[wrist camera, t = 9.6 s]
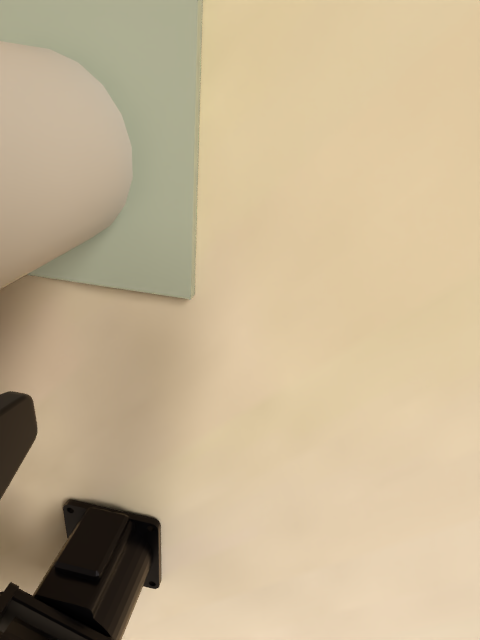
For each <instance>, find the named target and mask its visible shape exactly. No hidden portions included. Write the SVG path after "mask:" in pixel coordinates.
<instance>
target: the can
mask: <svg viewBox="0 0 480 640" xmlns="http://www.w3.org/2000/svg"><path fill="white" fill-rule="evenodd" d="M132 179H133V171H132V146H131V143H130V140H129V136H128V133H127V130H126V127H125V124H124V120H123V117H122V114H121V113H120V111H119V110H118V108H117V106H116V105H115V103H114V102H113V100H112V98H111V97H110V95H109V94H108V92H107V90H106V89H105V87H104V86H103V85H102V84H101V83H100V82H99V81H98V80H97V79H96V78H95V77H94V76H93V75H91V74H90V73H89V72H88V71H87V70H86V69H85V68H84V67H83V66H82V65H80V64H79V63H78V62H76V61H74V60H72V59H70V58H68V57H66V56H63V55H61V54H59V53H57V52H55V51H53V50H50V49H47V48H40V47H34V46H28V45H22V44H15V43H9V42H3V41H0V289H2V288H4V287H6V286H7V285H9V284H11V283H13V282H14V281H16V280H18V279H20V278H21V277H23V276H25V275H27V274H29V273H30V272H32V271H34V270H36V269H37V268H39V267H41V266H43V265H44V264H46V263H48V262H50V261H52V260H53V259H55V258H57V257H59V256H60V255H62V254H64V253H66V252H68V251H69V250H71V249H73V248H75V247H76V246H78V245H80V244H82V243H83V242H85V241H87V240H89V239H91V238H92V237H94V236H95V235H97V234H98V233H100V232H101V231H103V230H104V229H106V228H107V227H109V226H110V225H111V224H112V223H113V221H114V220H115V219H116V217H117V216H118V214H119V213H120V212H121V210H122V209H123V207H124V206H125V204H126V200H127V197H128V193H129V189H130V186H131V182H132Z"/></svg>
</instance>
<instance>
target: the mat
mask: <svg viewBox="0 0 480 640" xmlns="http://www.w3.org/2000/svg"><path fill="white" fill-rule="evenodd" d="M202 3H203V0H0V41H3V42H9V43H15V44H22V45H28V46H34V47H40V48H47V49H50V50H53V51H55V52H57V53H59V54H61V55H63V56H66V57H68V58H70V59H72V60H74V61H76V62H78V63H79V64H80V65H82V66H83V67H84V68H85V69H86V70H87V71H88V72H89V73H90V74H91V75H93V76H94V77H95V78H96V79H97V80H98V81H99V82H100V83H101V84H102V85H103V86H104V87H105V89H106V90H107V92H108V94H109V95H110V97H111V98H112V100H113V102H114V103H115V105H116V106H117V108H118V110H119V111H120V113H121V114H122V117H123V120H124V124H125V127H126V130H127V133H128V136H129V140H130V143H131V146H132V171H133V179H132V182H131V186H130V189H129V193H128V197H127V200H126V204H125V206H124V207H123V209H122V210H121V212H120V213H119V214H118V216H117V217H116V219H115V220H114V221H113V223H112V224H111V225H110V226H109V227H107V228H106V229H104V230H103V231H101V232H100V233H98V234H97V235H95V236H94V237H92V238H91V239H89V240H87V241H85V242H83V243H82V244H80V245H78V246H76V247H75V248H73V249H71V250H69V251H68V252H66V253H64V254H62V255H60V256H59V257H57V258H55V259H53V260H52V261H50V262H48V263H46V264H44V265H43V266H41V267H39V268H37V269H36V270H34V271H32V272H30V273H29V274H27V275H31V276H38V277H45V278H51V279H58V280H65V281H71V282H78V283H85V284H91V285H98V286H105V287H111V288H118V289H125V290H131V291H138V292H145V293H151V294H158V295H165V296H171V297H178V298H184V299H191V298H192V297H193V296H194V294H195V258H196V221H197V185H198V149H199V112H200V76H201V40H202Z"/></svg>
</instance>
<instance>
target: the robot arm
mask: <svg viewBox="0 0 480 640" xmlns="http://www.w3.org/2000/svg"><path fill="white" fill-rule="evenodd" d="M36 435H37V422H36V415H35V409H34V403H33V399H32V398H31V396H29V395H28V394H23V393H18V392H11V391H10V392H6V393H3V394H1V395H0V499H1V498H2V496H3V494H4V493H5V491H6V489H7V487H8V486H9V484H10V482H11V481H12V479H13V477H14V475H15V474H16V472H17V470H18V468H19V467H20V465H21V463H22V462H23V460H24V458H25V456H26V455H27V453H28V451H29V449H30V448H31V446H32V444H33V442H34V441H35V438H36ZM63 511H64V518H65V524H66V531H67V538H68V539H67V541H66V543H65V544H64V546H63V547H62V549H61V551H60V552H59V554H58V556H57V557H56V559H55V560H54V562H53V564H52V565H51V567H50V568H49V570H48V572H47V573H46V575H45V576H44V578H43V580H42V581H41V583H40V585H39V586H38V588H37V589H36V591H35V593H34V594H33V596H32V595H30V594H28V593H26V592H24V591H23V590H21V589H19V586H17V585H16V584H14V583H12V582H11V583H10V584H9V585H8V587H7V588H6V589H5V591H4V592H3V591H2V592H0V640H121V639H122V636H123V634H124V631H125V629H126V626H127V624H128V622H129V619H130V617H131V614H132V612H133V609H134V607H135V604H136V602H137V600H138V597H139V595H140V592H141V590H142V587H143V586H145V587H149V588H153V589H156V588H158V587H159V585H160V583H161V525H160V522H159V521H158V520H156V519H154V518H150V517H146V516H141V515H137V514H132V513H128V512H123V511H119V510H115V509H110V508H106V507H101V506H97V505H92V504H88V503H84V502H79V501H75V500H68V501H67V502H66V504H65V505H64V507H63Z"/></svg>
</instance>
